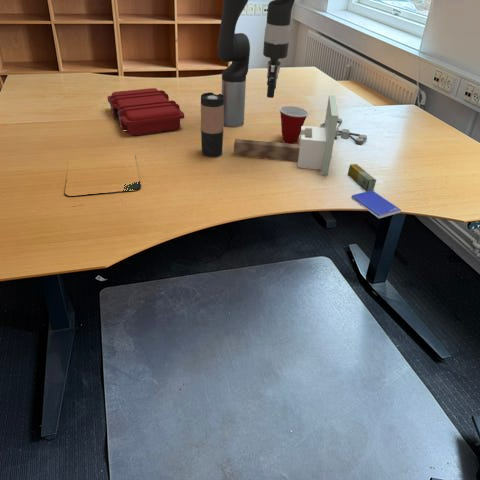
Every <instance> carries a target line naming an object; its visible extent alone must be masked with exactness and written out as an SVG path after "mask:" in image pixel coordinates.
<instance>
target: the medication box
mask: <svg viewBox="0 0 480 480" xmlns="http://www.w3.org/2000/svg"><path fill="white" fill-rule="evenodd" d="M347 176H348V177H350V178H351V180H353V181H354V182H355V183H356V185H358V186H360V187H361V188H362V190H363V191H364V192H367V191H371V190H372V191H374V190H375V186H376V182H377V179H376V178H374V177H373V176H372V175H371V174H370V173H368V172H367V171H366V170H365V169H363V168H362V167H361V166H360V165H358V164H357V163H352V164H351V163H350V164H349V167H348V172H347Z"/></svg>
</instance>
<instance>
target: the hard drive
mask: <svg viewBox="0 0 480 480" xmlns="http://www.w3.org/2000/svg"><path fill="white" fill-rule="evenodd" d="M351 199H352V200H353V201H355V202H356V203H358V204H359V205H360V206H361V207H362V208H364V209H366V210H367V211H368V212H370V213H371V214H372V215H373V216H375V217H376V218H377V219H382V218H386V217H390V216H392V215H397V214H400V213H401V212H402V209H401V208H399V207H398V206H396V205H395V204H393V203H392V202H390V201H389V200H387V199H386V198H385V197H383V196H382V195H380V194H379V193H377V192H375V191H374V190H373V191H372V190H371V191H367V192H366V191H362V192H361V193H360V192H359V193H356V194H352V195H351Z"/></svg>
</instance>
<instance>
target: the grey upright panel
mask: <svg viewBox="0 0 480 480" xmlns="http://www.w3.org/2000/svg"><path fill="white" fill-rule="evenodd" d="M338 110H339V109H338V104H337V99H336V94H329V95H328V100H327V107H326V113H325V120H324V123H325V124H324V128H323V127H320V126H311V125H309V126H308V125H303V126H301V133H300V136H299V143H298V145H300V149H299V157H298V162H297V168H299V169H300V168H302V169H310V170H311V169H313V170H319V171H321V176H329V172H330V165H331V160H332V154H333V150H334V143H335V138H336V137H335V132H336V128H337V127H338V126H337V125H338V123H337V121H338V118H339V112H338ZM306 137H308V138H306Z"/></svg>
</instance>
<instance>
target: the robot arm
mask: <svg viewBox="0 0 480 480" xmlns="http://www.w3.org/2000/svg"><path fill="white" fill-rule="evenodd" d="M295 1H296V0H271V1H270V2H268V6H267V13H266V25H265V29H264V38H263V39H264V40H263V52H262V55H263V56H264V57H265V58H269V59H270V60H268V61H267V64H266V65H267V66H266V68H267V72H266V78H267V82H266V86H267V89H266V91H267V92H266V97H267V98H271V99H273V98H274V97H275V90H276V89H277V80H278V78H279V74H280V70H281V64H282V62H281V61H280V59H281V60H282V59H285V58H287V57H288V53H289V42H290V34H291V21H292V20H291V19H292V18H291V17H292V10H293V7H294V4H295ZM248 2H249V0H223V2H222V12H221V13H222V15H221V20H220V27H219V33H218V38H217V53H218V58H219V59H220V60H221V61H222V62H223V63H230V64H229V65H228V66H227V67H226V68H225V69H224V70H223V71H222V73H221V94H222V95H223V96H224V126H225V127H230V128H233V127H234V128H237V127H241V126H243V125H244V124H245V109H246V108H245V107H246V103H245V102H246V90H247V89H246V85H247V76H248V72H249V64H250V56H251V43H250V39H249V38H248V36H247V35H246V34H245V33H243V32H238V33H236V26H237V23H238V21H239V18H240V16H241V15H242V13H243V11H244V9H245V8H246V6H247V4H248Z"/></svg>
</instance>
